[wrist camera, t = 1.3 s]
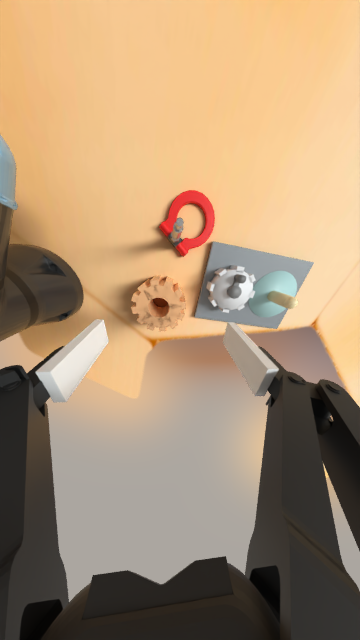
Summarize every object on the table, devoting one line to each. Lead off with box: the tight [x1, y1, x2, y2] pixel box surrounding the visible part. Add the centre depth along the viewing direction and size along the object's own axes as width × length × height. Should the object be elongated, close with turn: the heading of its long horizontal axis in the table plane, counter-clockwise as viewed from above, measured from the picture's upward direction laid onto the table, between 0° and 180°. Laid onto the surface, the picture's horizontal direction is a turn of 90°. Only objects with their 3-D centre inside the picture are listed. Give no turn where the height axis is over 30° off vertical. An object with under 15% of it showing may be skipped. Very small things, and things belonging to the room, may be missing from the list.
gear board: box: [194, 241, 314, 329], centre depth 27 cm, size 22×16×7 cm
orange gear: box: [131, 276, 186, 331], centre depth 27 cm, size 10×10×6 cm
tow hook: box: [159, 190, 215, 257], centre depth 19 cm, size 8×13×9 cm
